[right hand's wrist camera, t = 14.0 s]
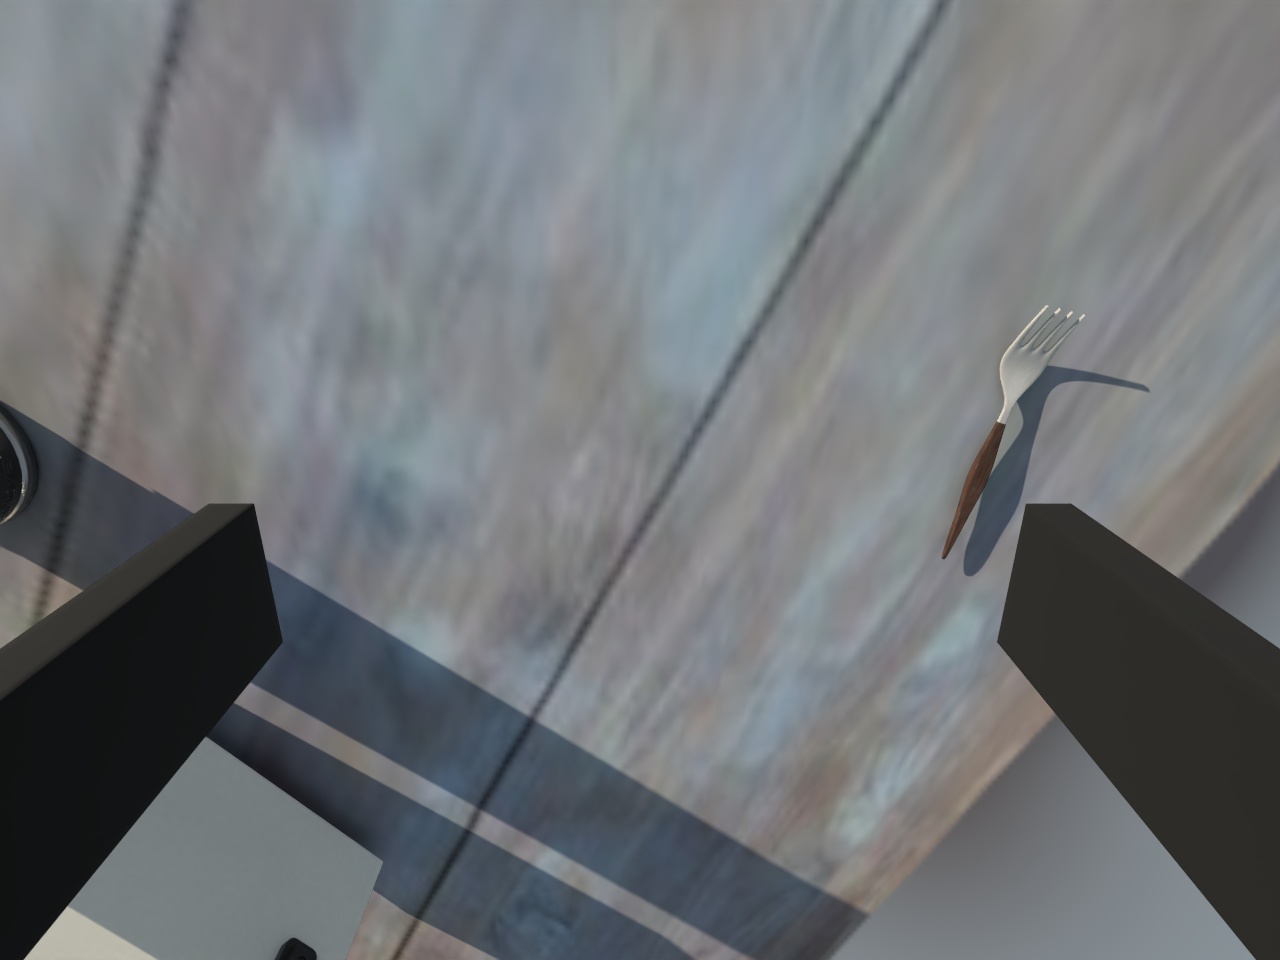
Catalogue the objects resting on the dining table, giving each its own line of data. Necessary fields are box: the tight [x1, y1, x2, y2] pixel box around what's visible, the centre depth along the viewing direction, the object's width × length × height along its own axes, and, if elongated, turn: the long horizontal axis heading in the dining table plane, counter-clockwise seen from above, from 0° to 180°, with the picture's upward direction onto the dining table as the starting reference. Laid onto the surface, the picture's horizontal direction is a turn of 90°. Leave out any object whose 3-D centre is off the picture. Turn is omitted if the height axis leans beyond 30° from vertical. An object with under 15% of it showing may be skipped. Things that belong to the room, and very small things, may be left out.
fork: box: [942, 305, 1085, 559], centre depth 42 cm, size 3×16×2 cm, turn 167°
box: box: [24, 737, 383, 960], centre depth 44 cm, size 27×6×13 cm, turn 43°
